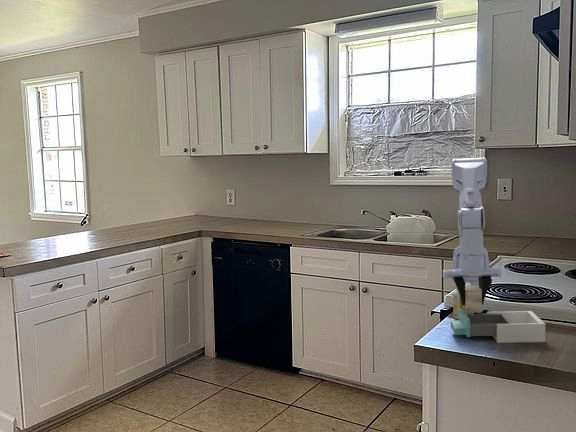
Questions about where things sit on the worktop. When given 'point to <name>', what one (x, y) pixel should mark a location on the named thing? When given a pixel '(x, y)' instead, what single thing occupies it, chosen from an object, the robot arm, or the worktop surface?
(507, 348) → the worktop surface
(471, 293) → the birch block
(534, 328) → the organiser box
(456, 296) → the supplement bottle
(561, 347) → the worktop surface
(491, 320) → the tray
